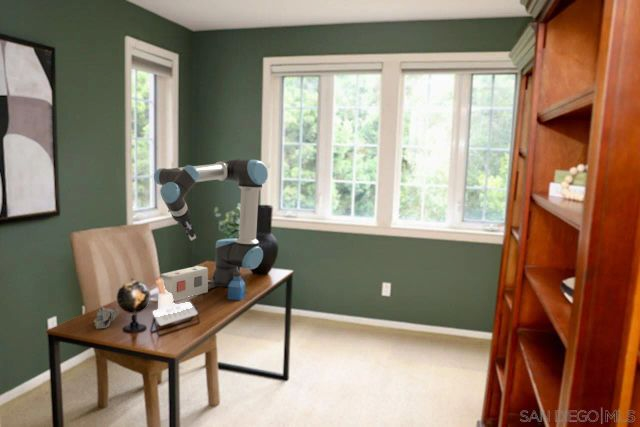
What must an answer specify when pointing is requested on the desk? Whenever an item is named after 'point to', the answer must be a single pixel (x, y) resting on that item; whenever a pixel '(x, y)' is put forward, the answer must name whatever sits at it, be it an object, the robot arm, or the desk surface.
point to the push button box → (187, 276)
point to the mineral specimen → (105, 317)
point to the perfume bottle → (236, 287)
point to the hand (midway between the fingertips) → (193, 238)
